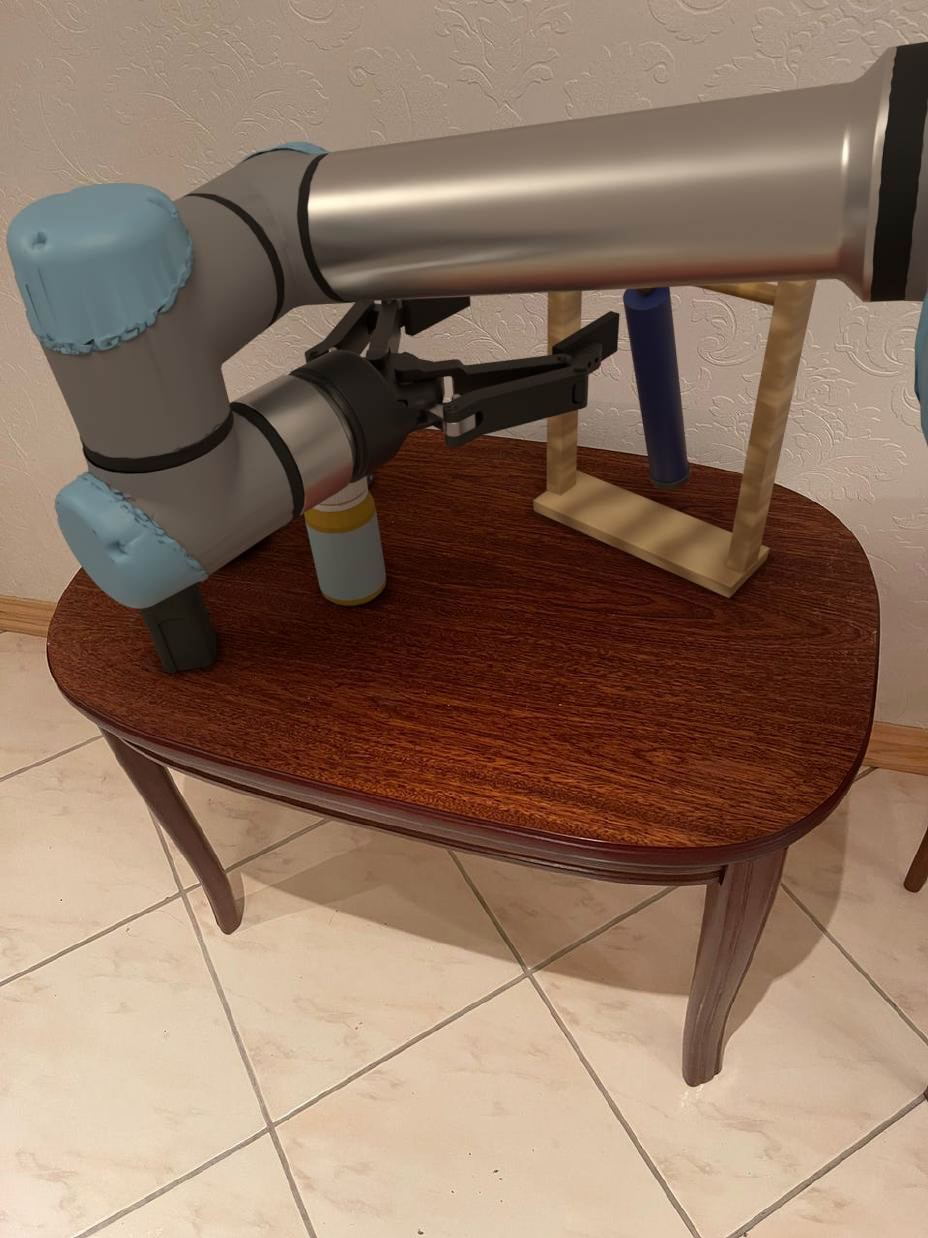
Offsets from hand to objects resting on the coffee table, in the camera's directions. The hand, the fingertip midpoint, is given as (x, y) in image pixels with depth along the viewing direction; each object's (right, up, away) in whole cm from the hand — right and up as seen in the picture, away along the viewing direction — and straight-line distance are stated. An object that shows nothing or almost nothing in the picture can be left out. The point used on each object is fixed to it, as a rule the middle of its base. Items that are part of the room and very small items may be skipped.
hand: (536, 307), depth 64 cm
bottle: (-17, -19, +29) cm, 39 cm away
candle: (-32, -26, +23) cm, 48 cm away
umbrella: (+19, -5, +32) cm, 38 cm away
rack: (+15, -13, +33) cm, 39 cm away
